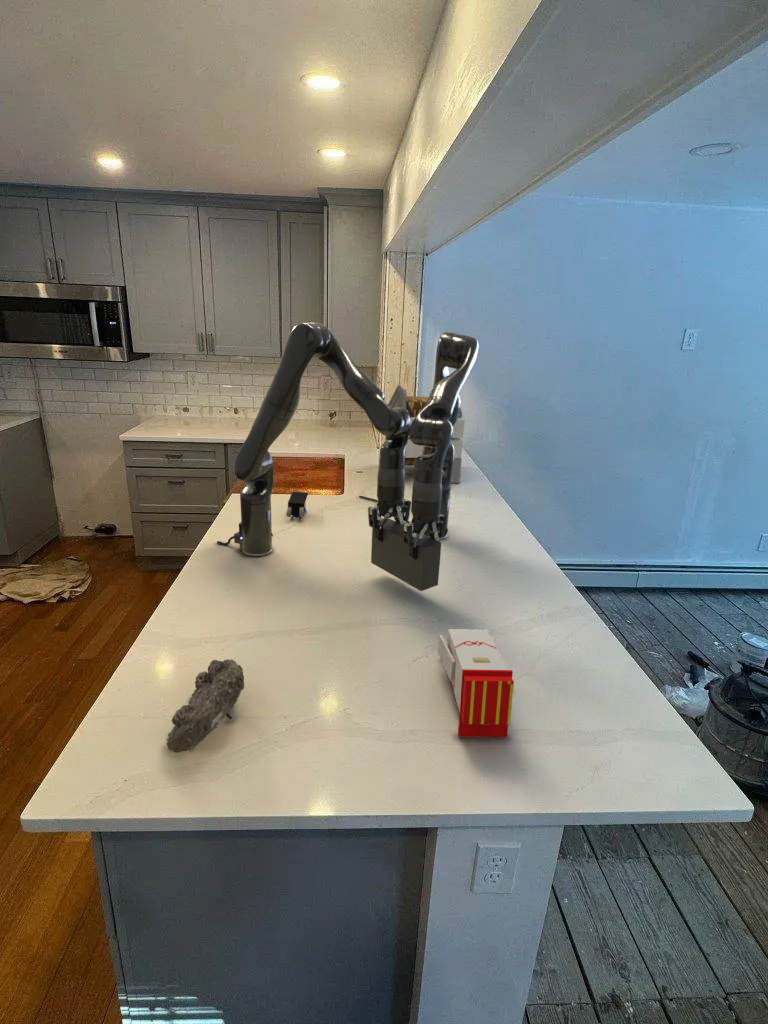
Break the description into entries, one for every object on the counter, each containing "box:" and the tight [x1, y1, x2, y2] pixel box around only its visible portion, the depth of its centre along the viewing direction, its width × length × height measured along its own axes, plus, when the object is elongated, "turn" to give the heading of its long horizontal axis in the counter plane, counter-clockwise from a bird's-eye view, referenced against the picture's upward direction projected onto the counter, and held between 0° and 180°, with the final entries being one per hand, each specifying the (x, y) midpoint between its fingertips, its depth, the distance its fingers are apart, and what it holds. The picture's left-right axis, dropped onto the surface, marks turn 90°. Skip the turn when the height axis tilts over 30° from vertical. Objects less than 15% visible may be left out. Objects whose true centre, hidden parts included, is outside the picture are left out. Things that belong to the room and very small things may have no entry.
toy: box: [437, 628, 515, 738], centre depth 117 cm, size 12×13×30 cm
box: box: [370, 518, 442, 592], centre depth 156 cm, size 21×6×12 cm, turn 40°
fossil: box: [166, 658, 245, 754], centre depth 106 cm, size 22×10×15 cm
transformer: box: [387, 384, 465, 484], centre depth 268 cm, size 34×33×41 cm
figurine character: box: [286, 491, 309, 522], centre depth 211 cm, size 7×8×15 cm
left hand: (388, 538), depth 160 cm, fingers closed on box, 6 cm apart
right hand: (422, 555), depth 150 cm, fingers closed on box, 6 cm apart
